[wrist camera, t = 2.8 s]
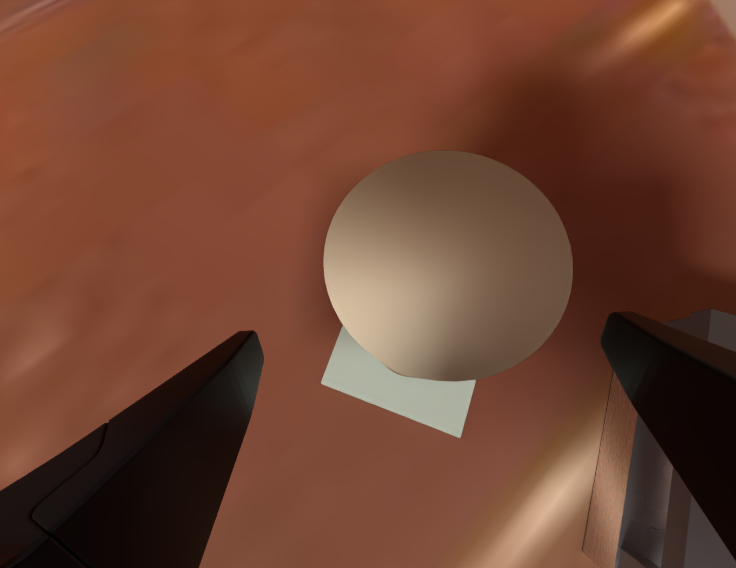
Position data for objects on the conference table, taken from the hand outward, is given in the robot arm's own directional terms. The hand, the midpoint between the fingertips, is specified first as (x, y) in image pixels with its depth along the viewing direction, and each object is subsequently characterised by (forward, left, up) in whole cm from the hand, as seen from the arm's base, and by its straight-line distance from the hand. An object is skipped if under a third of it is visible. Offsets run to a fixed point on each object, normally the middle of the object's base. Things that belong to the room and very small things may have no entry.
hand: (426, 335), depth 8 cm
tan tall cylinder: (+1, 0, -8) cm, 8 cm away
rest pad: (+1, 0, -8) cm, 8 cm away
